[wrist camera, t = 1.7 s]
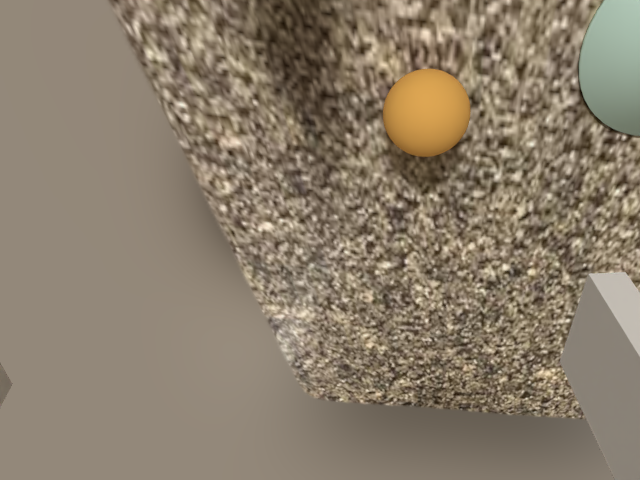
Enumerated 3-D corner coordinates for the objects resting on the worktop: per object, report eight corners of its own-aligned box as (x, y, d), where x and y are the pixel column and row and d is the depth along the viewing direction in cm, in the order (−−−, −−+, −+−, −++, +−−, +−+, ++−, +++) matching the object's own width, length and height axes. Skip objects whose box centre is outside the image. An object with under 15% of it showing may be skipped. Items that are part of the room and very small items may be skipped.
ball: (477, 84, 38) (498, 120, 33) (425, 146, 40) (438, 186, 36) (413, 39, 36) (427, 71, 31) (363, 107, 39) (369, 145, 34)
